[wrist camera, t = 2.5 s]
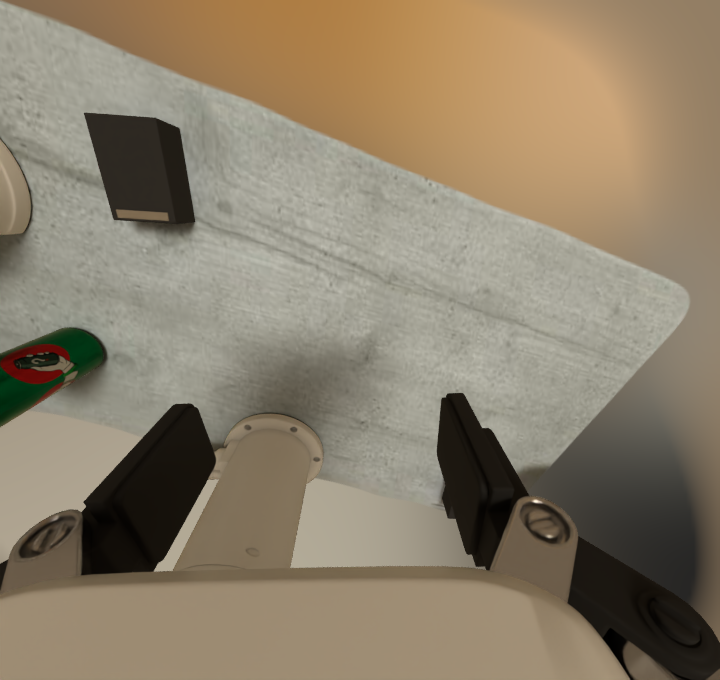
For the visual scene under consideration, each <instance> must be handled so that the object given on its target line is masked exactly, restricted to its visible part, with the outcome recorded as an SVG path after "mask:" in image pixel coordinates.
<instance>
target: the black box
mask: <svg viewBox="0 0 720 680" xmlns="http://www.w3.org/2000/svg"><path fill="white" fill-rule="evenodd" d="M84 115H85V119H86V122H87V126H88V129H89V133H90V137H91V140H92V144H93V147H94V151H95V154H96V158H97V162H98V165H99V169H100V172H101V176H102V180H103V183H104V187H105V190H106V194H107V197H108V201H109V205H110V208H111V212H112V215H113V219H114V220H123V221H139V222H155V223H171V224H179V223H189V222H195V219H194V213H193V207H192V201H191V195H190V189H189V183H188V177H187V171H186V165H185V159H184V154H183V148H182V142H181V136H180V130H179V128H178V127H175V126H173V125H171V124H168V123H166V122H164V121H161V120H159V119H157V118H150V117H137V116H123V115H109V114H95V113H84Z"/></svg>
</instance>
